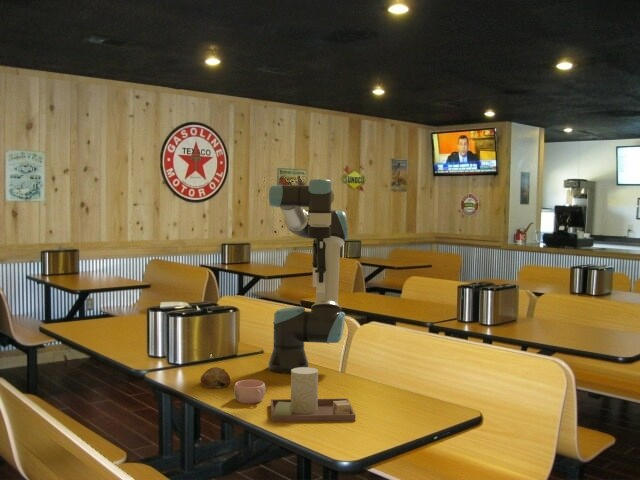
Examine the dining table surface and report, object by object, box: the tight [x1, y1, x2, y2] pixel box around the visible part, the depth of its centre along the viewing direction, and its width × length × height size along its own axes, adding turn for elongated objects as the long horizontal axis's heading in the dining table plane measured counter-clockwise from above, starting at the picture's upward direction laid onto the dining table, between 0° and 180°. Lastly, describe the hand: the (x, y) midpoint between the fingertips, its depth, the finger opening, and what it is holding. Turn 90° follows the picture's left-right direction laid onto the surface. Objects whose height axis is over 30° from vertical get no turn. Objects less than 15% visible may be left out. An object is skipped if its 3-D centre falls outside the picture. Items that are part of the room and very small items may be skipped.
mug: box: [233, 379, 267, 405], centre depth 210 cm, size 12×10×6 cm
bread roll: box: [199, 366, 231, 390], centre depth 229 cm, size 10×10×8 cm
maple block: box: [333, 400, 351, 414], centre depth 196 cm, size 4×4×4 cm
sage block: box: [275, 402, 292, 415], centre depth 194 cm, size 4×4×4 cm
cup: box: [290, 366, 319, 414], centre depth 202 cm, size 8×8×12 cm
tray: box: [270, 398, 356, 423], centre depth 199 cm, size 16×24×2 cm, turn 96°
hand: (318, 289), depth 222 cm, fingers open, 13 cm apart
